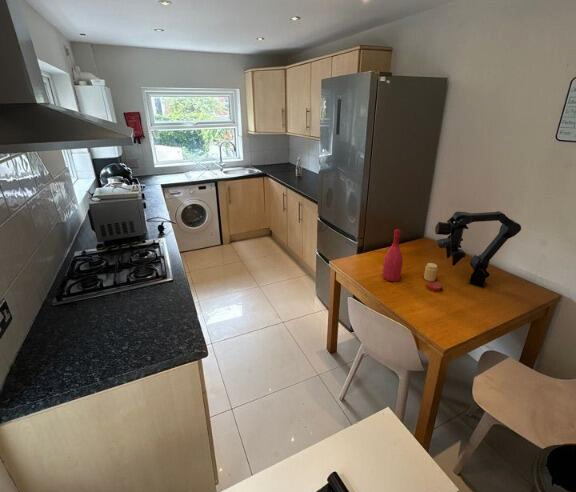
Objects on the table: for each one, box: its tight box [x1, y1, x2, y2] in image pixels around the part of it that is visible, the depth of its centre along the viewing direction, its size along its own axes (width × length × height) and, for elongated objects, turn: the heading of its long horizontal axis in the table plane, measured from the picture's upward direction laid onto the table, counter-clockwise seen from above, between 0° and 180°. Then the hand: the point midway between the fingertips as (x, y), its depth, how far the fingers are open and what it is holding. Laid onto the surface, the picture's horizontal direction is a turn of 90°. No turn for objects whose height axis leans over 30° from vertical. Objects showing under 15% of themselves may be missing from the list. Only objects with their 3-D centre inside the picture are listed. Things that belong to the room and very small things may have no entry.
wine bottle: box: [382, 228, 404, 283], centre depth 167 cm, size 10×10×30 cm
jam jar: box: [423, 262, 438, 282], centre depth 171 cm, size 6×6×9 cm
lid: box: [427, 281, 442, 293], centre depth 162 cm, size 7×7×2 cm
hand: (450, 261), depth 166 cm, fingers open, 9 cm apart
